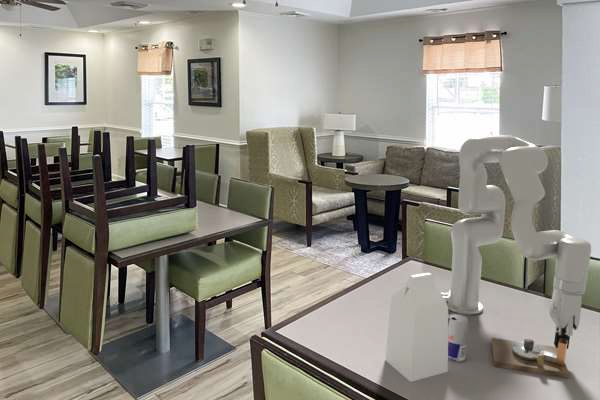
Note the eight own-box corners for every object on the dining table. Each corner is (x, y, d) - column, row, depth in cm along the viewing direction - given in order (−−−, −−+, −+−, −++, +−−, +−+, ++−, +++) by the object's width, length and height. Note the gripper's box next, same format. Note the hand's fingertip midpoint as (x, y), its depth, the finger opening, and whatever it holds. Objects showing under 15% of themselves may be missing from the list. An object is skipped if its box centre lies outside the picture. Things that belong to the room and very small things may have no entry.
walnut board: (493, 366, 131) (495, 347, 130) (491, 342, 144) (492, 325, 143) (568, 378, 125) (570, 359, 124) (558, 352, 138) (560, 334, 137)
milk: (410, 381, 124) (415, 285, 118) (385, 360, 134) (389, 271, 129) (447, 371, 128) (454, 278, 123) (420, 351, 139) (425, 265, 133)
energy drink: (442, 352, 138) (445, 313, 135) (460, 352, 138) (463, 313, 136) (449, 362, 133) (452, 322, 130) (468, 362, 133) (471, 321, 131)
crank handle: (509, 354, 133) (511, 334, 132) (515, 343, 140) (517, 323, 139) (562, 370, 126) (564, 348, 125) (566, 357, 132) (569, 336, 131)
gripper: (546, 273, 137) (539, 332, 141) (562, 293, 123) (553, 359, 126) (575, 275, 135) (567, 335, 139) (595, 296, 121) (585, 363, 125)
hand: (560, 346), depth 133 cm, fingers closed
